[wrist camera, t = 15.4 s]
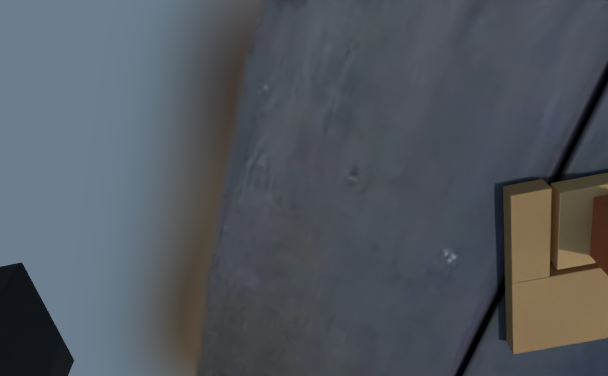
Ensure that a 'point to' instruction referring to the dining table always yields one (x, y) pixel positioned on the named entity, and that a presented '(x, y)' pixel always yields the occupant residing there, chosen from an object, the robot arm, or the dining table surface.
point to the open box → (579, 222)
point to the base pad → (546, 279)
